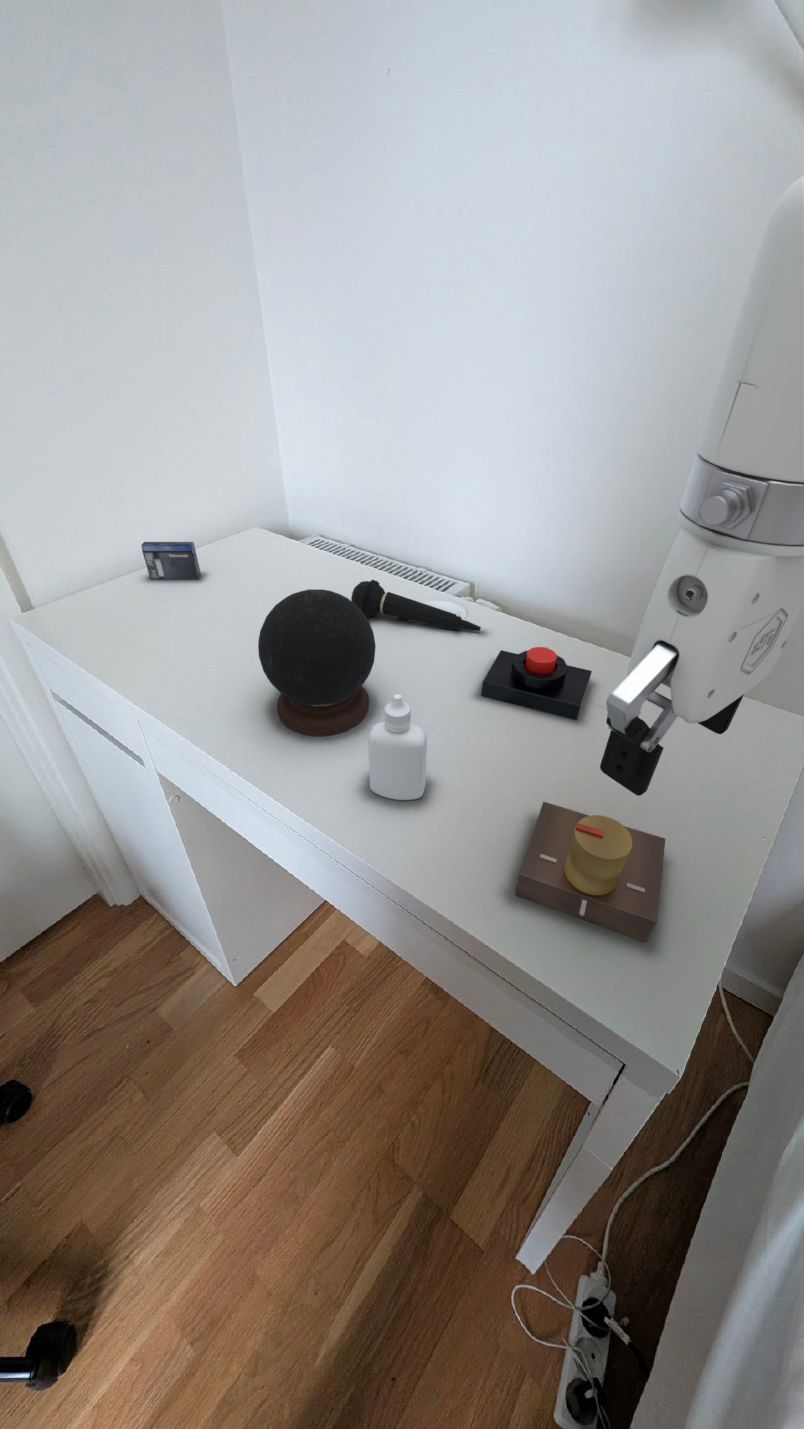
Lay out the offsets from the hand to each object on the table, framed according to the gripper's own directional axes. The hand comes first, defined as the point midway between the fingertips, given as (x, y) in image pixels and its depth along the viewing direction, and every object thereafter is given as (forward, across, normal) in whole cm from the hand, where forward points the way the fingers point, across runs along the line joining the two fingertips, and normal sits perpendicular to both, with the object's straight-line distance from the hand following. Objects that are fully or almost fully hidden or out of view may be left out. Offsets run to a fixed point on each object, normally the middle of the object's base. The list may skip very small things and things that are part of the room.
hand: (664, 750), depth 40 cm
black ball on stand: (+17, -6, +38) cm, 42 cm away
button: (+13, +18, +24) cm, 33 cm away
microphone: (+17, +16, +47) cm, 52 cm away
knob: (+14, -2, +1) cm, 14 cm away
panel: (+17, 0, +2) cm, 17 cm away
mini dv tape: (+18, -7, +84) cm, 86 cm away
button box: (+17, +18, +24) cm, 35 cm away
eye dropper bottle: (+17, -7, +21) cm, 28 cm away
